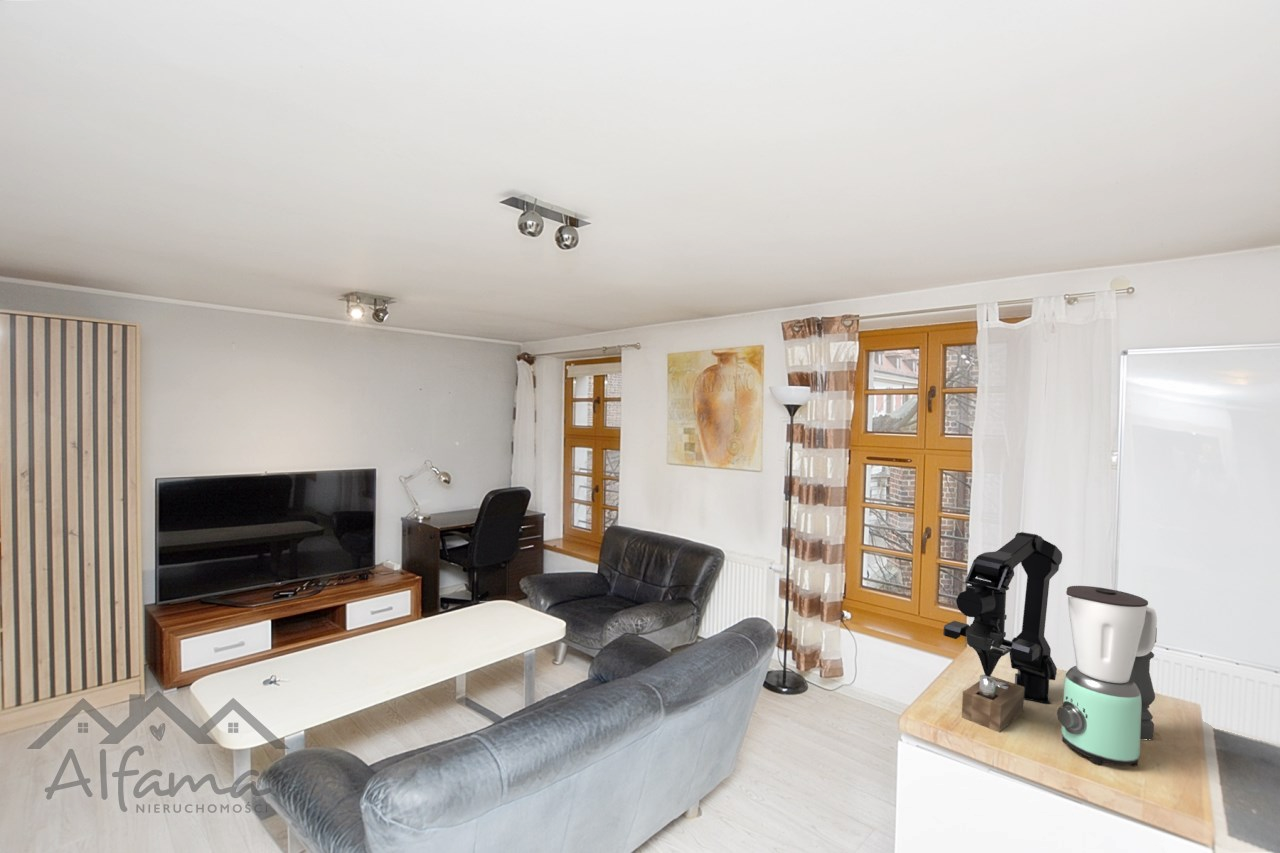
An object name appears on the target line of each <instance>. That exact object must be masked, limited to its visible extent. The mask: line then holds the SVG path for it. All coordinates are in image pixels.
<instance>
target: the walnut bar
mask: <svg viewBox="0 0 1280 853" xmlns="http://www.w3.org/2000/svg"><path fill="white" fill-rule="evenodd" d="M991 677H994V678H995V679H996V681H998V682H1003V683H1005V684H1007V685H1008V686H1009V688H1008V689H1004V688H1001V687H998V686H996V688H995V699H994V700H991V699H988V698H985V697H983V696H980V695H979V687H980V680H978V681H977V682H975V683H974V684H973V685H971V686H970V687H968V688H966V689H965V690H964V691H963V692H962V700H961V701H962V704H961V706H962V708H961V718H963V719H965V720H968V721H970V722H973V723H975V724H978V725H980V726H983V727H986V728H988V729H990V730H993V731H994V732H997V733H1001V732H1002V731H1003V730H1004V729H1005V728H1006V727H1007V726H1008V725H1010V724H1011V723H1012V722H1013V721H1015V719H1016V718H1018V717H1019V716H1020V715H1021V714H1022V713H1023V712H1024V705H1025V699H1024V688H1025V687H1023V686H1020V685H1017V684H1015V682H1014V683H1013V682H1011V681H1009V680H1005V679H1002V678H999V677H996V676H993V675H991Z"/></svg>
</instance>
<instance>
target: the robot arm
mask: <svg viewBox="0 0 1280 853" xmlns="http://www.w3.org/2000/svg"><path fill="white" fill-rule="evenodd" d="M1062 561H1063V553H1062V551H1061V550H1060V549H1059V548H1058V547H1057V545H1055V544H1053V543H1051V542H1049V541H1047V540H1045V539H1044V538H1043V537H1042V536H1041V535H1039V534H1035V533H1028V532H1024V531H1021V532H1016V534H1015V536H1014V538H1012V539H1011V540H1009V541H1008V542H1007V543H1006V544H1004V545H1003V546H1001V548H999V549H998V550H996V551H987V552H982V553H980V554H979V555H977V556H976V557H975V559H973V561H972V564H971V566H970V569H969V571H968V573H967V577H966V579H965V584H967V585H966V586H965V591H964V590H963V591H962V592H960V593H959V594H958V595H957V597H956V599H955V600H956V601H955V602H956V607H957V609H958V610H959V611H960V613H961V614H963V615H964V616H966V617H969V618H973V621H972V623H971V624H970V625H969V624H968V623H964V622H960V621H957V620H952V621H951V622H949V623H946V624H945V625H944V626H943V633H942V634H943V636H944V637H946V638H947V637H948V638H951V639H954V640H957V639H959V638H960V637H961V636H963V637H965V639H966V644H967V645H968V647H970V648H972V649H973V650H974V651H975V652H976V654H977V656H978V658H979V661H980V663H981V666H982V670H983V672H984V675H986V676H988V677H990V676H992V674H993V672H994V670H995V668H996V666H997V664H998V663H999V661H1000V659H1001V658H1002V657H1004V656H1006V655H1007V654H1009V659H1010V666H1011V669H1013V670H1017V673H1016V672H1015V674H1014V684H1017V685H1020V686H1023V687H1025V688H1024V700H1027V701H1028V700H1029V701H1032V702H1033V701H1034V702H1038V703H1043V704H1051V701H1050V699H1049V688H1050V687H1049V686H1050V680H1051V681H1055V680H1056V676H1057V674H1058V672H1057V670H1058V668H1057V665H1056V664H1055V662H1054V660H1053V658H1052V657H1051V654H1052V653H1051V652H1052V651H1051V650H1052V649H1051V647H1050V645H1049V642H1048V640H1047V639H1046V637H1045V630H1046V620H1047V610H1048V608H1047V607H1048V601H1049V590H1050V580H1051V579H1052V578H1053V577H1054V576H1055V575H1056V574H1057V572H1059V570H1060V565H1061V563H1062ZM1019 564H1021V567H1022V569H1023V570H1024V572H1025V573H1026V574H1025V575H1026V587H1025V596H1024V606H1023V616H1022V626H1021V632H1020V633H1019V634H1018V635H1017V636H1016V637H1013V639H1012V640H1008V639H1005V637H1006V636H1007V634H1006V633H1007V632H1005V629H1006V628H1005V627H1006V626H1005V625H1006V624H1005V623H1006V620H1007V614H1006V606H1007V605H1006V602H1007V600H1006V599H1007V591H1009V590H1010V584H1011V582H1012V579H1013V578H1014V576H1015V570H1014V569H1015V568H1016V567H1017V566H1018V565H1019Z"/></svg>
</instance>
